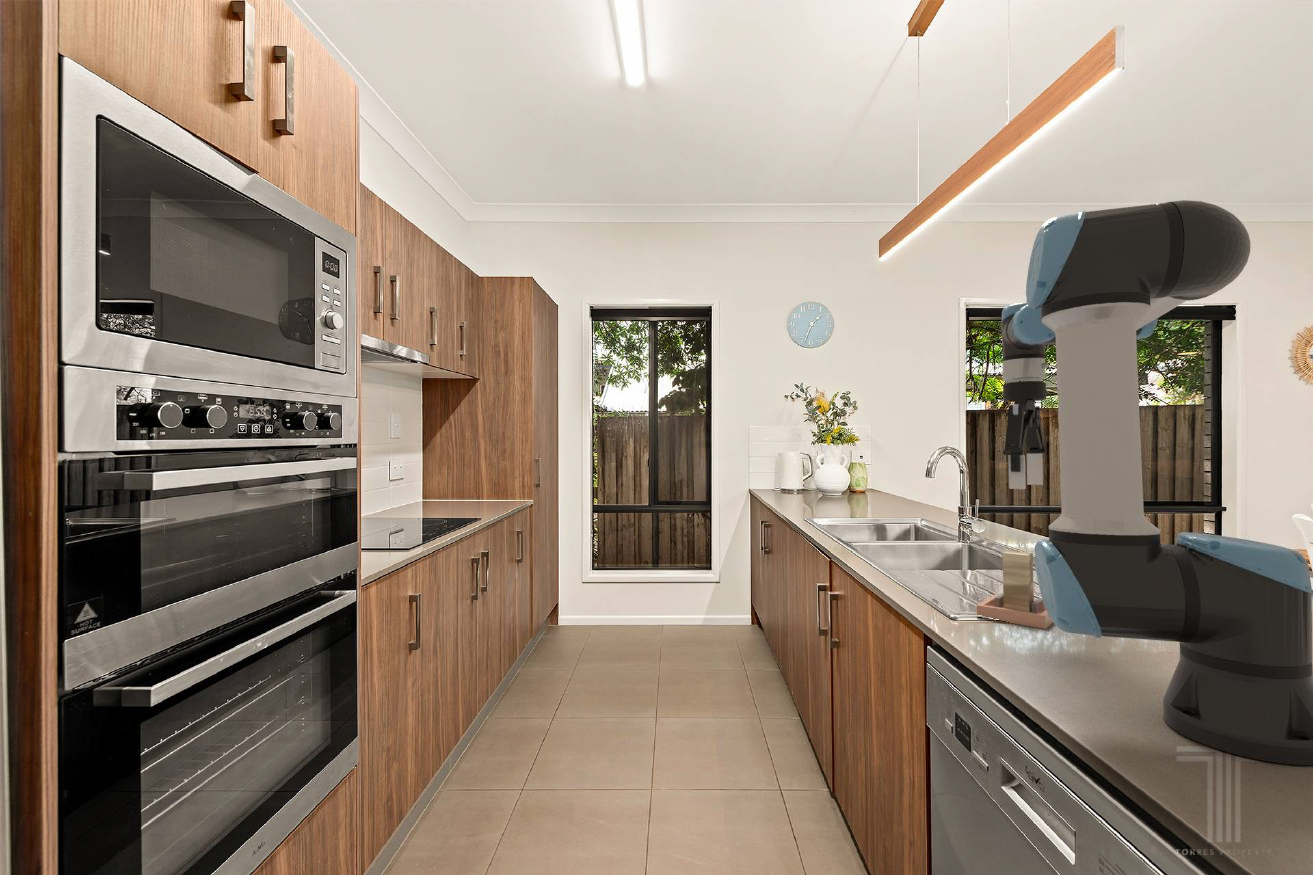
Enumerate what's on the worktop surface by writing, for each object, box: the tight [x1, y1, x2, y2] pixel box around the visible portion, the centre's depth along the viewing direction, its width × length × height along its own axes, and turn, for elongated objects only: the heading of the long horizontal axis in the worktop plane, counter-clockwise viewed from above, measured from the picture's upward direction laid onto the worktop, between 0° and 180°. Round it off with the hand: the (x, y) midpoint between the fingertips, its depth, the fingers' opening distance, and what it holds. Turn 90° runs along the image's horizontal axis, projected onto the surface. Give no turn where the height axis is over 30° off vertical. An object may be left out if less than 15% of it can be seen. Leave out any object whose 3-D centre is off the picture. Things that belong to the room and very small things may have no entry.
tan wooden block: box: [1002, 550, 1035, 612], centre depth 127 cm, size 4×4×12 cm
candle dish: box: [976, 592, 1054, 630], centre depth 127 cm, size 12×12×4 cm
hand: (1026, 486), depth 128 cm, fingers open, 13 cm apart
